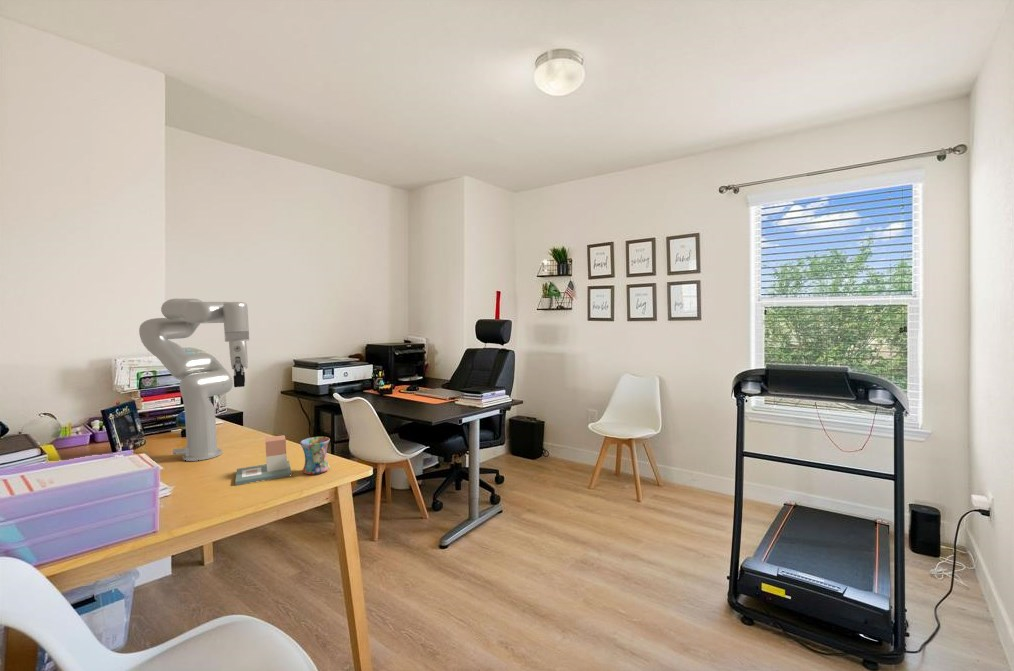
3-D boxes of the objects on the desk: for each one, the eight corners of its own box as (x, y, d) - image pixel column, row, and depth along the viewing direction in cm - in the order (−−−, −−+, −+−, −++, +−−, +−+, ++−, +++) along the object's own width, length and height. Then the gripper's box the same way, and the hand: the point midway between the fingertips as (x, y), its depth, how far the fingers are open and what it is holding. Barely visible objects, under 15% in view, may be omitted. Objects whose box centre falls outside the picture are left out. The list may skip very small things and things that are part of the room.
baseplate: (235, 485, 148) (234, 462, 147) (236, 472, 160) (235, 451, 160) (291, 475, 155) (290, 454, 155) (288, 464, 168) (287, 444, 167)
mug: (297, 471, 160) (295, 440, 159) (324, 465, 166) (323, 435, 165) (310, 480, 151) (309, 447, 150) (339, 473, 157) (337, 441, 156)
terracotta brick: (266, 456, 156) (265, 441, 156) (265, 452, 161) (265, 437, 161) (286, 453, 159) (285, 439, 159) (285, 449, 164) (284, 435, 164)
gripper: (248, 337, 161) (251, 387, 162) (249, 335, 177) (251, 380, 178) (223, 338, 158) (226, 389, 159) (225, 336, 173) (228, 382, 174)
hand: (239, 384), depth 168 cm, fingers open, 9 cm apart
